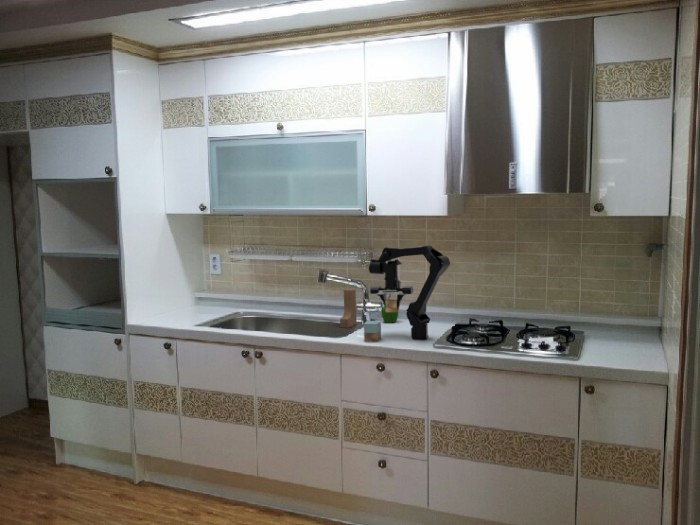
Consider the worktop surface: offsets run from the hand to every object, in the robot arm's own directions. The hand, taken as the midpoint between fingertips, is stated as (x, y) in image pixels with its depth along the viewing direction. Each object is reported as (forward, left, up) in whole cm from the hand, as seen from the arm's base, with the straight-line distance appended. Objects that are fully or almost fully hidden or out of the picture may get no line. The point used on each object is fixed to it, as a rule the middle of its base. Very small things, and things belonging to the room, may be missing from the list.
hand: (392, 309), depth 280 cm
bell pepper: (+9, -29, -12) cm, 33 cm away
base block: (+7, +10, -12) cm, 17 cm away
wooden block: (+27, -17, -12) cm, 34 cm away
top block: (+7, +11, -8) cm, 15 cm away
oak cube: (0, 0, -1) cm, 1 cm away
